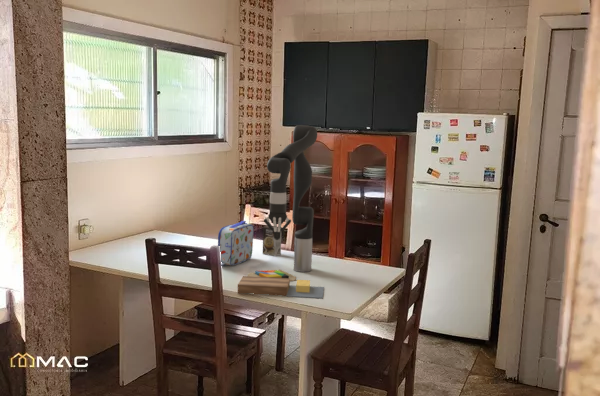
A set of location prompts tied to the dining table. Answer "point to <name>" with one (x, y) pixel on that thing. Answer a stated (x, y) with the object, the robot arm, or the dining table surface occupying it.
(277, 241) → the coffee box
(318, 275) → the dining table surface
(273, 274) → the wooden puzzle
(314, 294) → the slate mat
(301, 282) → the ochre tile
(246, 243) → the lunch box
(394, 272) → the dining table surface
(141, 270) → the dining table surface
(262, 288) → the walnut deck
